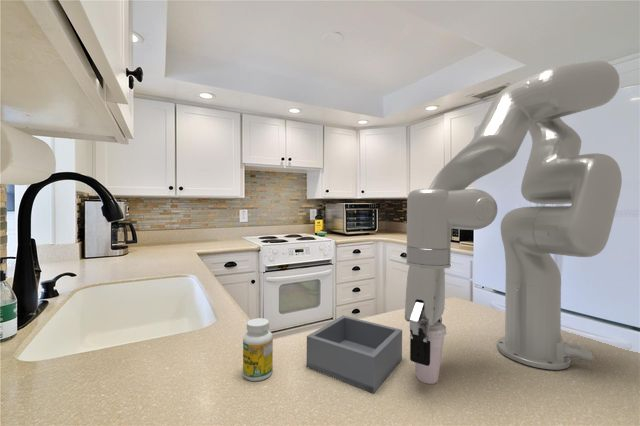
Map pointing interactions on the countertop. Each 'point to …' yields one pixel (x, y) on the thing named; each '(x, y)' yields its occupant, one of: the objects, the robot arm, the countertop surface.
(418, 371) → the smoothie
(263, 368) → the supplement bottle
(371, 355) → the box
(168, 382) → the countertop surface
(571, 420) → the countertop surface
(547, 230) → the robot arm
